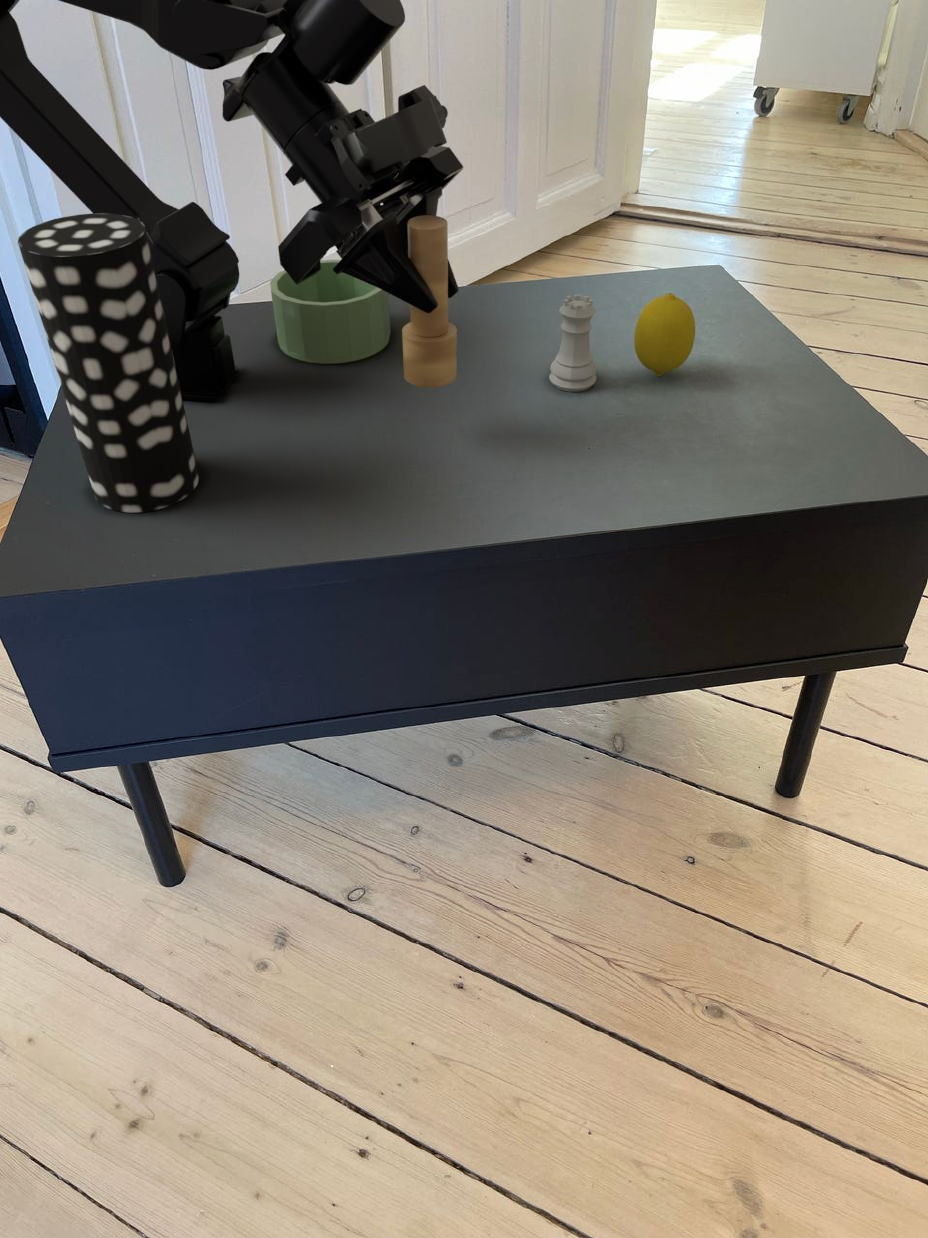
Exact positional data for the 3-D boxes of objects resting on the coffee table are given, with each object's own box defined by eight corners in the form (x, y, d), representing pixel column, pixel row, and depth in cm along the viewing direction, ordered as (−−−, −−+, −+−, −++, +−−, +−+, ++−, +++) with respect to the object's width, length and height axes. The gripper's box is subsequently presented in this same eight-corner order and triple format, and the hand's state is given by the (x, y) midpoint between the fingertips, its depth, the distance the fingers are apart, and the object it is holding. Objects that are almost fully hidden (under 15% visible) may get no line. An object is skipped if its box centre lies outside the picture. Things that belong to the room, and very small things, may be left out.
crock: (262, 358, 96) (253, 299, 92) (299, 311, 105) (292, 256, 101) (373, 368, 94) (369, 308, 90) (401, 320, 103) (399, 263, 99)
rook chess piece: (593, 395, 90) (601, 312, 85) (545, 391, 91) (550, 308, 85) (598, 373, 93) (605, 292, 88) (552, 369, 94) (556, 288, 89)
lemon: (623, 382, 92) (632, 300, 87) (638, 358, 96) (647, 278, 90) (681, 393, 90) (694, 309, 85) (693, 367, 94) (706, 286, 89)
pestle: (398, 385, 79) (391, 229, 71) (411, 361, 83) (406, 209, 74) (450, 390, 79) (450, 233, 71) (461, 365, 82) (462, 213, 74)
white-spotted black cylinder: (111, 456, 82) (44, 212, 69) (209, 457, 82) (159, 213, 69) (79, 512, 76) (-3, 256, 63) (184, 513, 76) (125, 257, 63)
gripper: (294, 79, 61) (450, 286, 64) (440, 28, 73) (564, 203, 76) (215, 191, 69) (357, 370, 72) (359, 127, 81) (474, 283, 84)
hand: (444, 302), depth 76 cm, fingers closed on pestle, 3 cm apart
